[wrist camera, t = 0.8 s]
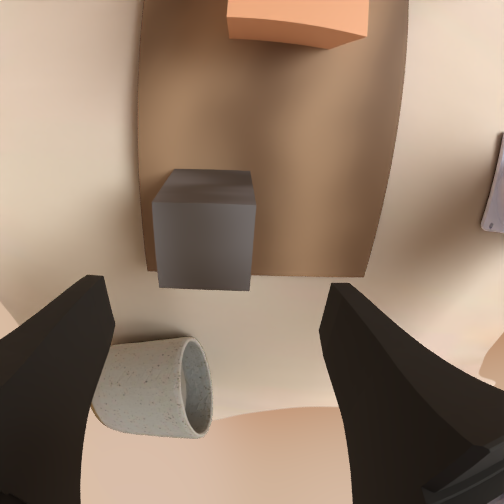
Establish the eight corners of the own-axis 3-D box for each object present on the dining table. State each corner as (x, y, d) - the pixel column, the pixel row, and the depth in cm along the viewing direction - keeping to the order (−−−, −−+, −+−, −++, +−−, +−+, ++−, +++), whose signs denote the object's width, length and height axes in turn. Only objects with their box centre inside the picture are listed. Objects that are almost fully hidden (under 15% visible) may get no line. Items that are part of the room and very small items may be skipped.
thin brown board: (401, -47, 10) (453, -75, 5) (359, 270, 21) (392, 327, 16) (161, -77, 9) (136, -125, 4) (150, 264, 20) (126, 325, 15)
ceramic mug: (96, 327, 23) (66, 405, 16) (188, 314, 22) (176, 404, 15) (148, 399, 28) (138, 465, 21) (226, 393, 27) (227, 465, 21)
